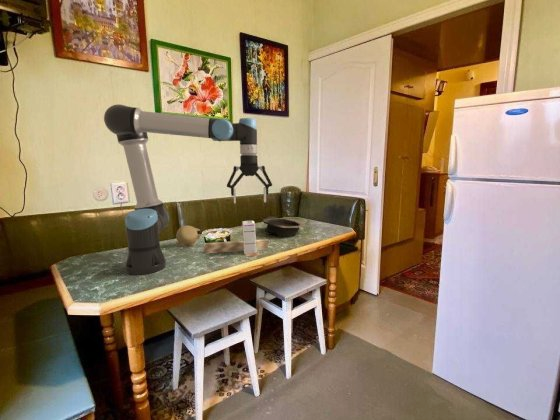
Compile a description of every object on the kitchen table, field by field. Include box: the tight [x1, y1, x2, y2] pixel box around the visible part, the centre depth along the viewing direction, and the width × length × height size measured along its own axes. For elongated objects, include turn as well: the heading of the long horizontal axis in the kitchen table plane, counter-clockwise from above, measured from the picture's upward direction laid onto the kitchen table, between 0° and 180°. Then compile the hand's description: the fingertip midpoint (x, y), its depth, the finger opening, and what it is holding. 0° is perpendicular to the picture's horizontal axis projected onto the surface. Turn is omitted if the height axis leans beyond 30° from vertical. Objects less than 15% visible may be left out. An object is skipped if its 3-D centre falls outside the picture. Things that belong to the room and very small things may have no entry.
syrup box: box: [241, 220, 257, 255], centre depth 141 cm, size 6×6×14 cm
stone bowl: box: [261, 215, 306, 238], centre depth 174 cm, size 25×25×9 cm
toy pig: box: [175, 225, 202, 247], centre depth 152 cm, size 10×12×11 cm
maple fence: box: [203, 238, 269, 260], centre depth 140 cm, size 30×12×4 cm, turn 100°
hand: (250, 202), depth 138 cm, fingers open, 13 cm apart
